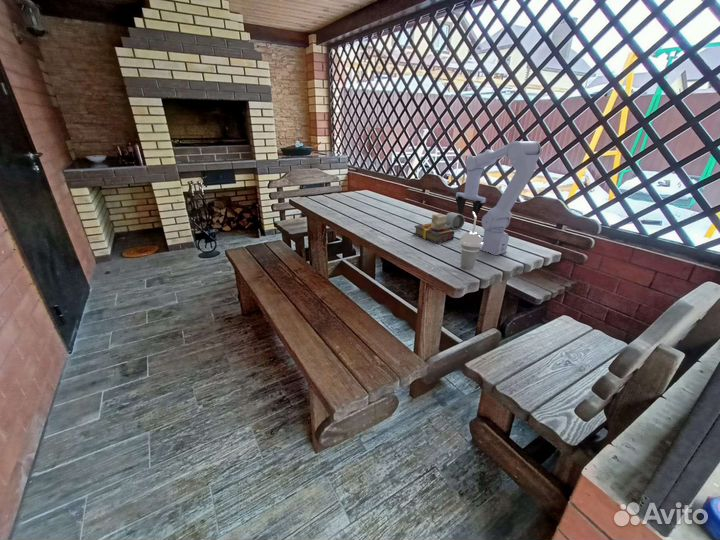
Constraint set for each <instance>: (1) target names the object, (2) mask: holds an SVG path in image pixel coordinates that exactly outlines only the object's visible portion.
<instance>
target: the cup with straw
mask: <svg viewBox="0 0 720 540" xmlns="http://www.w3.org/2000/svg"><path fill="white" fill-rule="evenodd" d="M471 213H472V215H473V216H474V218H473V219H474V221H473V225H472V226H473V227H472V231H471V230H470V231H466V232H465V233H464V234H463V235H462V237H461V238H459V240H458V243H459V244H460V268H461V269H462V270H464V271H472V270H471V269H473V270H474V267H475V265H476V261H477V258H478V255H479V253H480V251H481V250H480V248H481V246H483V245H484V244H483V243H484V242H483V238H482V237H481V234H480V233H478V232H476V230H475V229H476V224H477V217H476V215H475V213H474V211H473V210H472V212H471Z"/></svg>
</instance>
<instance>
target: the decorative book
mask: <svg viewBox="0 0 720 540" xmlns="http://www.w3.org/2000/svg"><path fill="white" fill-rule="evenodd" d="M414 228H415V232H413V235H415V236H418V237H421V238H422V239H423V238H424V239H423V240H427V241H430V242H431V243H433V244H435V245H436V244H438V245H440V244H441V243H443V242H448V241H451V240H454V236H455V230H451V228H445V229H441V230H436V229H434V228H431V223H430V222H429V223H425V224H418V225H414ZM440 242H441V243H440ZM439 243H440V244H439Z"/></svg>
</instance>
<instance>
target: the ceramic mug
mask: <svg viewBox="0 0 720 540" xmlns="http://www.w3.org/2000/svg"><path fill="white" fill-rule="evenodd" d="M445 215H446V216H447V218H446V226H445V228H449V229H453V230H454V231H455V230H460V229H462V228H463V227H464V224H465V221H466V219H465V217H464V215H463V214H459V213H457V212H447V213H446V214H445Z"/></svg>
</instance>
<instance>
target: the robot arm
mask: <svg viewBox="0 0 720 540" xmlns="http://www.w3.org/2000/svg"><path fill="white" fill-rule="evenodd" d="M541 148H542V147H541V144H540V142H539V141H537V140H532V141H526V140H525V141H519V140H514V141H512V142H508V143H507V144H505V145H504V146H502V147H500V148H498V149H496V150H493V149H490V148H489V149H488V148H487V149H485V150H484V151H483V152H481V153H480V152H479V153H477V155H475V156H473V155H469V156H468V157H467V158H466V160H465V168H466V170H467V172H466V177H465V178H466V179H465V185H464V192H460V191H458V192H457V191H456V192H455V201H456V204H457V208H458V214H461V215H463V213H464V211H465V205H466V202H467V200H470V201H473V202H472V212H473V211H474V213H475V215H476V218H477V217H478V215H479V212H480V210H481V209H482V207H484V205H485V203H486V201H487V198H486V197H484V196H481V195H478V194H479V187H480V183H481V176H482V174H483V172H484V169H485V168H487V167H489V166H491V165H494V164H496V162H497V160H499V159H502V158H505V157H508V159H509V161H510V163H511V166H512V167H513V169H514V170H515V172H514V173H513V175H512V177H511V179H510V181H509V182H508V184H507V186H506V188H505V190H504V191H503V193H502V194H501V196H500V198H499V200H498V201H497V203H496V205H495V206H494V207H493V208H491V209H489V210H488V211H487V212H486V214H484V215H483V216H482V217H481V226H482V228H483V230H484V231H483V237H482V241H483V242H484V243H483V244H484V245H483V246H481V248H480V250H479V251H482V250H483V252H485V251H486V252H485V253H488V252H489V253H488V254H490V253H491V255H494V256H498V255H501V254H504V253H507V252H508V250H507V248H508V243H509V239H510V237H509V234H508V233H507V232H505V231H506V228H507V227H508V226H509V225H510V222H511V218H512V217H513V214H512V212H511V210H512V208H513V206H514V205H515V203H516V202H517V200H518V199H519V197H520V196H521V194H522V193H523V191H524V190H525V188H526V186H527V185H528V183H529V181H530V179H531V178H532V176H533V175H534V173H535V169H536V166H537V162H538V160H539V159H540V157H541V155H542V154H543V153H542V149H541ZM471 217H472V219H474V216H473V214H472V216H471Z"/></svg>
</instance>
